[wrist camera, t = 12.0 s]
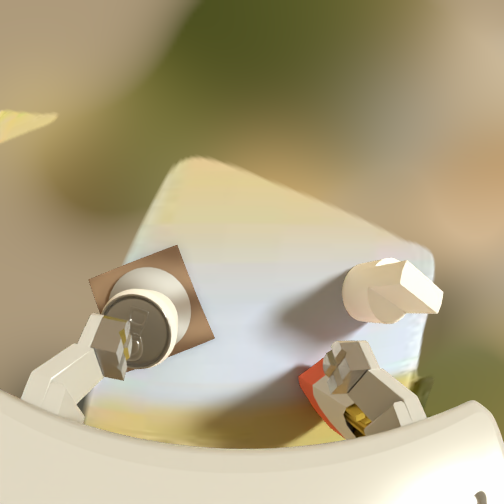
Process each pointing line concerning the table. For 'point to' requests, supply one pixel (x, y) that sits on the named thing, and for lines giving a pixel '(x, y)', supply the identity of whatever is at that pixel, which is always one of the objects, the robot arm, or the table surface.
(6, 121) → the table surface
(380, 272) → the base with upright slab
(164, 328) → the can
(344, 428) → the french fries container
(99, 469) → the robot arm
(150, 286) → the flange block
